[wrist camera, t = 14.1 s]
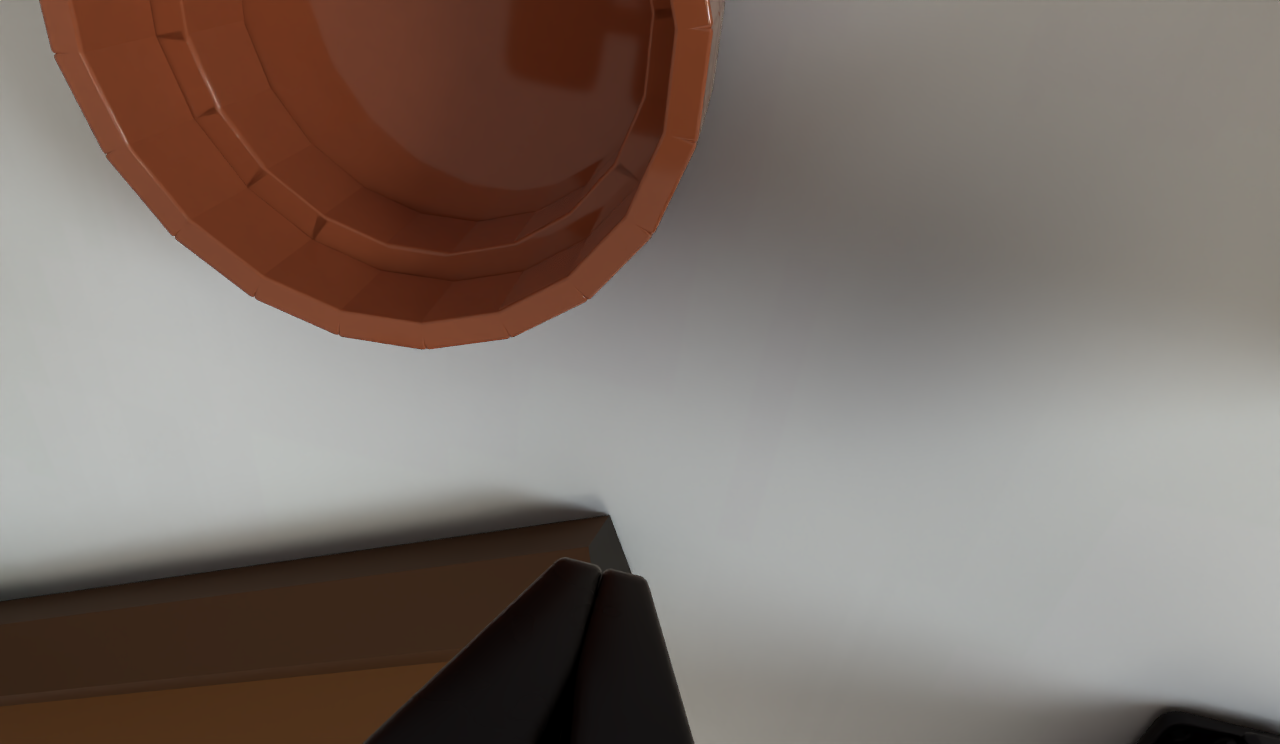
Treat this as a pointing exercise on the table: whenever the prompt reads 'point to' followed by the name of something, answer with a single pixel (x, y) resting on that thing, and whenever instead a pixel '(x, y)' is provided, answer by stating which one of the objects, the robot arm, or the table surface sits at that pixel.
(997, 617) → the table surface
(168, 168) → the flower pot
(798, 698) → the table surface
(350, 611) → the pan flute
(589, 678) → the robot arm
